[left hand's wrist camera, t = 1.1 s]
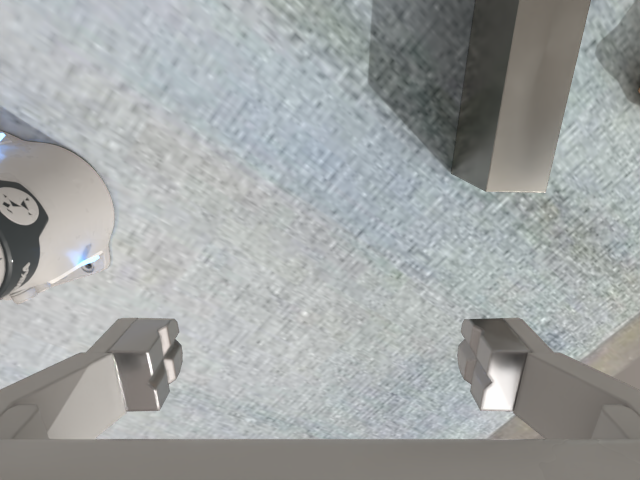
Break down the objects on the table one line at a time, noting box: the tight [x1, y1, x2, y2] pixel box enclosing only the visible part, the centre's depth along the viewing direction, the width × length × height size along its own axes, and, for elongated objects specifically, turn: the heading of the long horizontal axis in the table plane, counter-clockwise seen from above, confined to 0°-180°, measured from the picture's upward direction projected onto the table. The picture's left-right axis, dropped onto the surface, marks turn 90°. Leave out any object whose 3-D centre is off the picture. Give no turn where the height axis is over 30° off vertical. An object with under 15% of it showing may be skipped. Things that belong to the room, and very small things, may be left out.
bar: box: [451, 0, 591, 193], centre depth 33 cm, size 23×6×9 cm, turn 179°
